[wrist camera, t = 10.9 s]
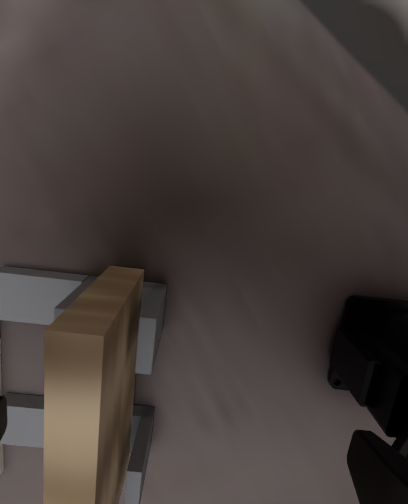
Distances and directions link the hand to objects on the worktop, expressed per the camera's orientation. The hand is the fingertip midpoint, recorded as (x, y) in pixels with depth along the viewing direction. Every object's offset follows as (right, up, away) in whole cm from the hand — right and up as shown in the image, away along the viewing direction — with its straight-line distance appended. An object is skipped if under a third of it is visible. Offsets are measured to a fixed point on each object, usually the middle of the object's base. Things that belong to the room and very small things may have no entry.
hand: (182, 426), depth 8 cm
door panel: (-5, -3, +12) cm, 13 cm away
